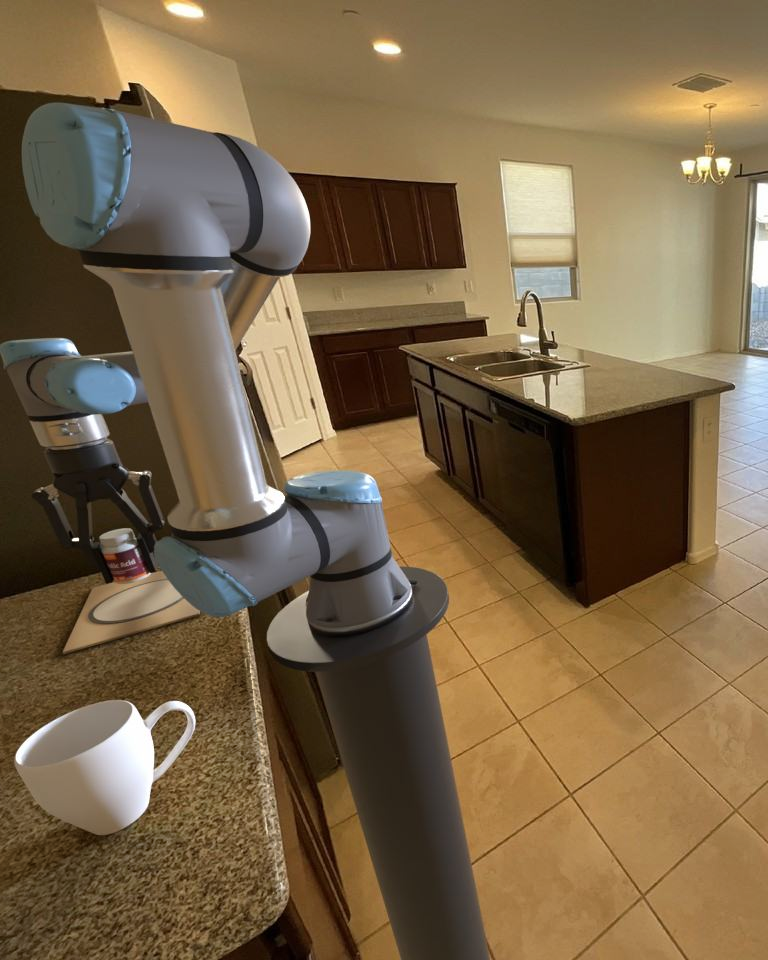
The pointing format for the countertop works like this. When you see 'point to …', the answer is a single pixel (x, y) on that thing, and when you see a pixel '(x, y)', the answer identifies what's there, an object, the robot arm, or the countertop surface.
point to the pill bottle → (123, 556)
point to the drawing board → (128, 611)
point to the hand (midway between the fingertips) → (132, 574)
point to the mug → (97, 764)
